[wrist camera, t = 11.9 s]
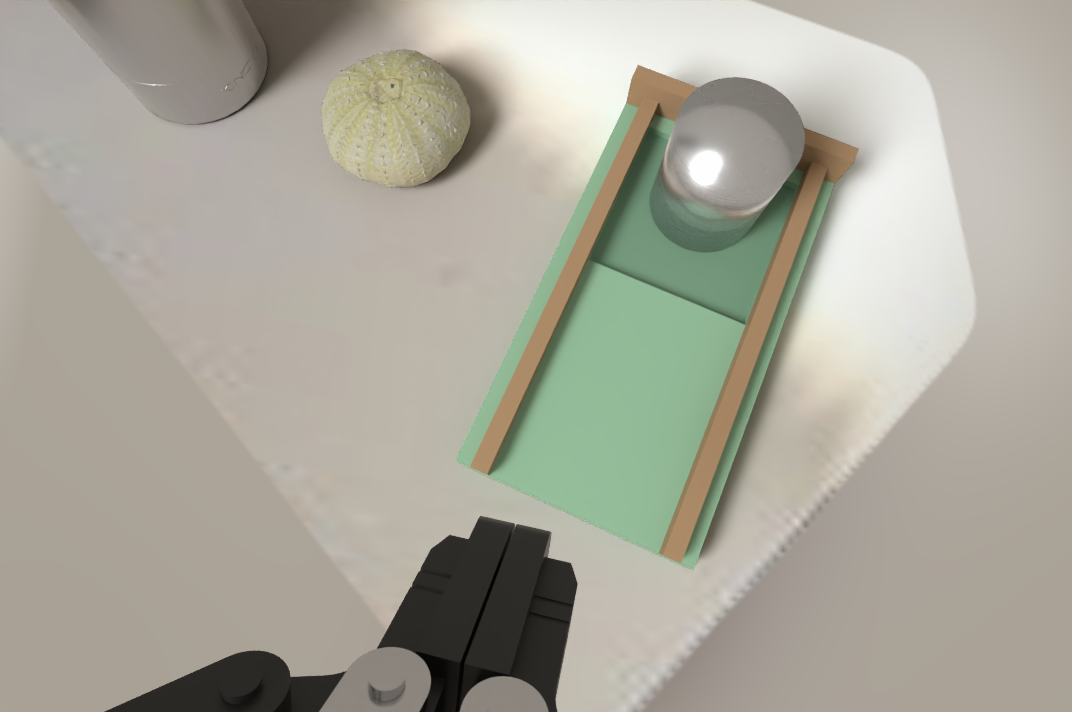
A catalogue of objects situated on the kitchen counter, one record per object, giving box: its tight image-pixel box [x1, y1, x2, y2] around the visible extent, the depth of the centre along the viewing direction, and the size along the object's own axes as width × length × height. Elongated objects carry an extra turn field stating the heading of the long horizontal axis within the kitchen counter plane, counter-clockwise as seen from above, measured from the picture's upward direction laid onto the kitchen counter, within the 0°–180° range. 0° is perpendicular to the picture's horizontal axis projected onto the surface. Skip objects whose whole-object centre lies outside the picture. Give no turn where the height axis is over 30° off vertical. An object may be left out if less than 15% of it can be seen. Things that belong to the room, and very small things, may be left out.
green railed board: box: [456, 65, 858, 570], centre depth 37 cm, size 14×26×4 cm, turn 156°
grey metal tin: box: [649, 77, 805, 253], centre depth 36 cm, size 7×7×8 cm
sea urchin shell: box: [321, 50, 471, 188], centre depth 41 cm, size 9×8×8 cm
